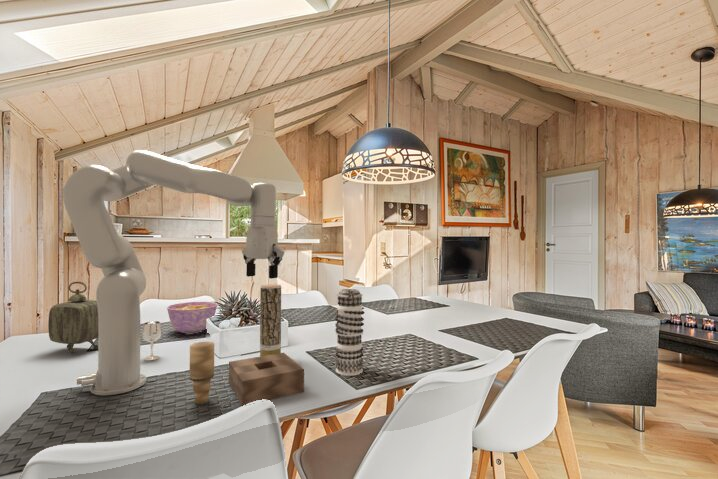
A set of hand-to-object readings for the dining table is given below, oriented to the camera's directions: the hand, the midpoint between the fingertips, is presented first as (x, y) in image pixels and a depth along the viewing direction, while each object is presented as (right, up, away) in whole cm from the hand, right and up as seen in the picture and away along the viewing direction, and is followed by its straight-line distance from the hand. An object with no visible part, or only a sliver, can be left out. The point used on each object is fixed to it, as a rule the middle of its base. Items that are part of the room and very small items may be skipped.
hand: (261, 277), depth 110 cm
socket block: (+5, -29, -14) cm, 32 cm away
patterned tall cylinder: (+28, -29, -2) cm, 40 cm away
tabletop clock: (-71, -29, +15) cm, 78 cm away
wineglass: (-40, -29, +9) cm, 50 cm away
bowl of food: (-42, -29, +43) cm, 67 cm away
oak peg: (-9, -29, -23) cm, 37 cm away
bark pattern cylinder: (+1, -29, +8) cm, 30 cm away
